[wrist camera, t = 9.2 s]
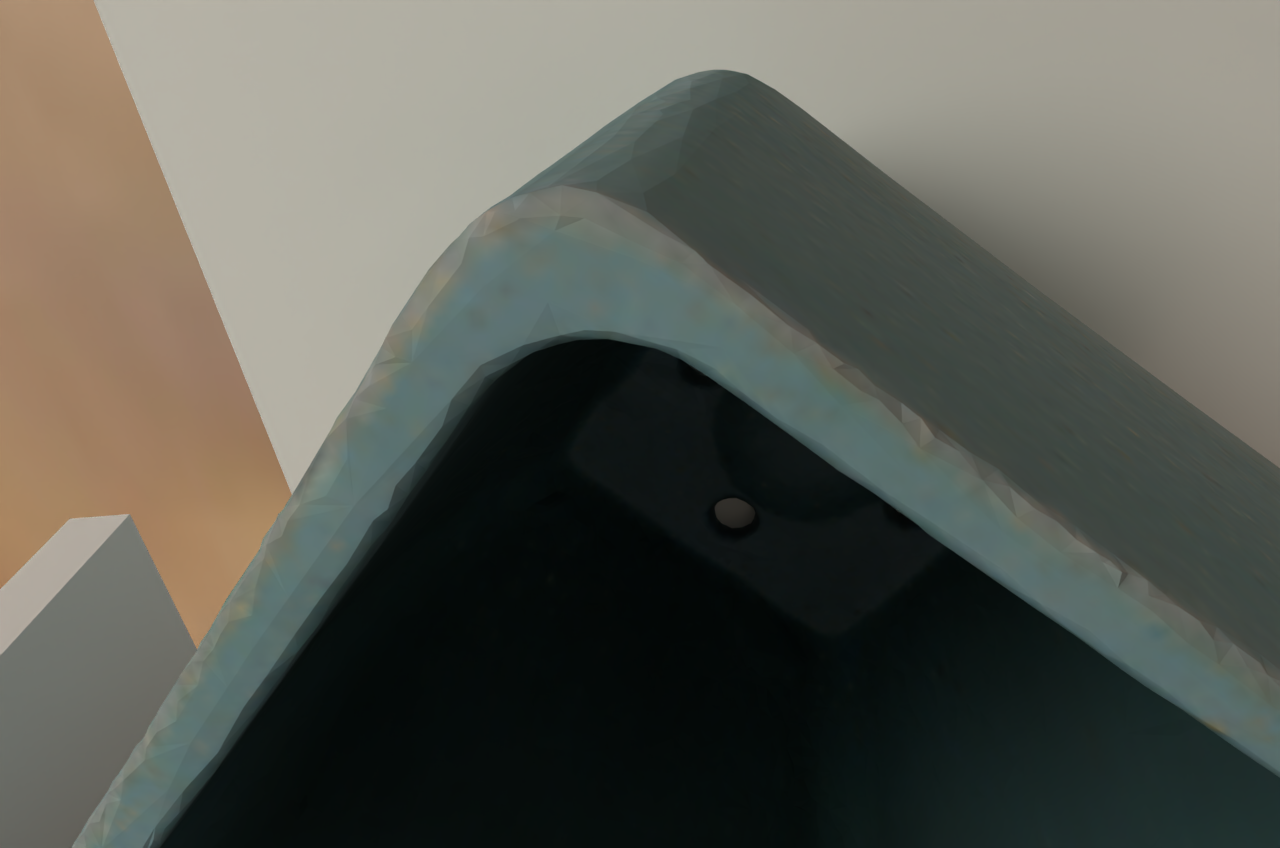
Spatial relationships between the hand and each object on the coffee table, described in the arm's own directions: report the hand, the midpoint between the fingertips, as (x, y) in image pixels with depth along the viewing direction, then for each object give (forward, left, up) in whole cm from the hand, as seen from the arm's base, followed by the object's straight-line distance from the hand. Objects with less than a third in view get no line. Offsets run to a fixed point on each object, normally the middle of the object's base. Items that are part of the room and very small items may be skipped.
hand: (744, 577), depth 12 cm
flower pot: (0, +1, -4) cm, 4 cm away
